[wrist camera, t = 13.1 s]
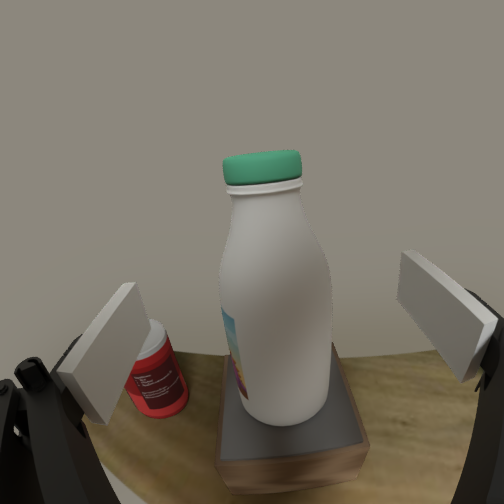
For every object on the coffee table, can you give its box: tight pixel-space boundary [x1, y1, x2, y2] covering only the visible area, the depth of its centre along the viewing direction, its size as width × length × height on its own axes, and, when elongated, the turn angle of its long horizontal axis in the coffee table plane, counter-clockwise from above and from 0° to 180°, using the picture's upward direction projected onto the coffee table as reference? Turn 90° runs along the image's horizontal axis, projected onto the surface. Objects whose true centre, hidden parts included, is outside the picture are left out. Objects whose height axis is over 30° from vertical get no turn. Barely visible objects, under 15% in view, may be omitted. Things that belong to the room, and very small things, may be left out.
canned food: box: [124, 319, 188, 419], centre depth 31 cm, size 8×8×11 cm
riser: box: [215, 342, 370, 495], centre depth 25 cm, size 12×14×8 cm
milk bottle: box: [219, 150, 332, 426], centre depth 19 cm, size 8×8×20 cm
